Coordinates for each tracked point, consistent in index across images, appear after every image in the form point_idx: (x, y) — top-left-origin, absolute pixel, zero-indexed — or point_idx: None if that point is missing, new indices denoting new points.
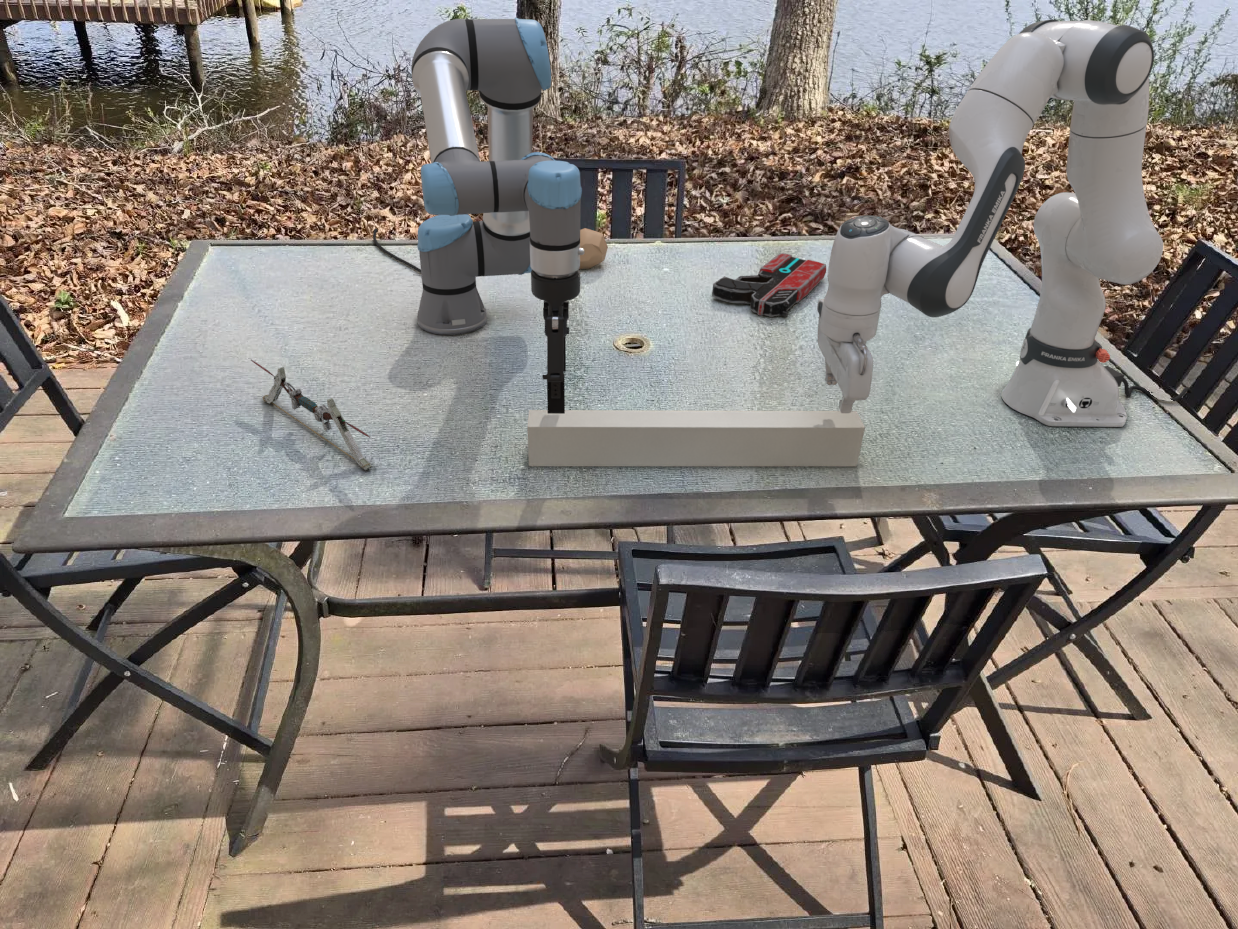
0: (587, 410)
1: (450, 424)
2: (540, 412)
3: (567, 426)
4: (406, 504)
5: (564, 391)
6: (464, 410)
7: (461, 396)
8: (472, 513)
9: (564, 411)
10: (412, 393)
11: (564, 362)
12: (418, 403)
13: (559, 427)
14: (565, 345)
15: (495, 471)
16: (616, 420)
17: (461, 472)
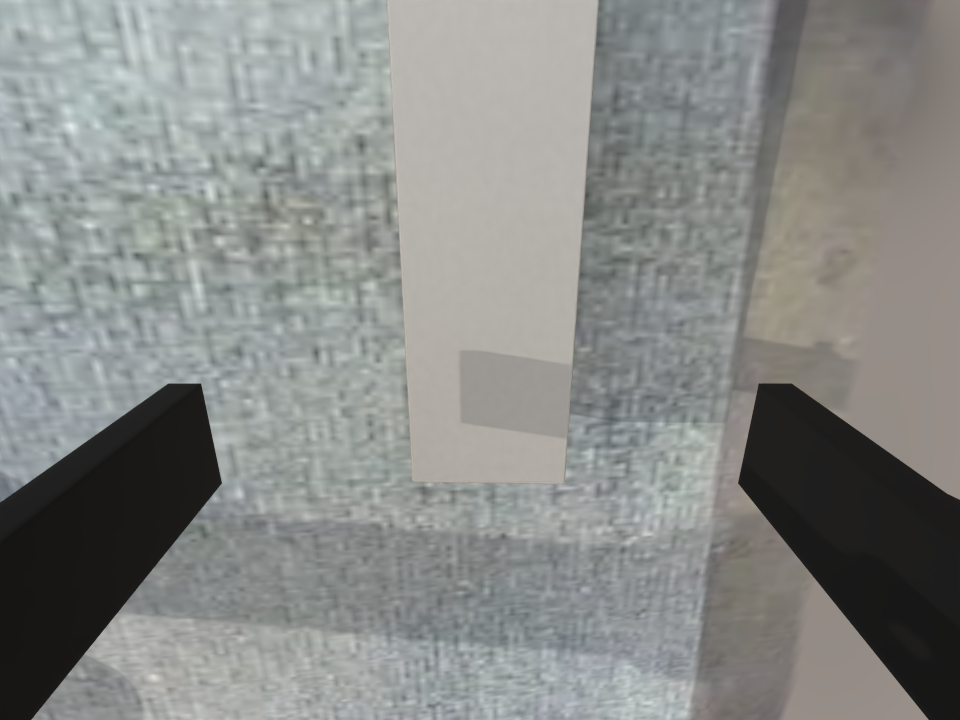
0: (403, 198)
1: (309, 611)
2: (434, 434)
3: (572, 308)
4: (700, 665)
5: (934, 486)
6: (222, 584)
7: (139, 597)
8: (773, 529)
9: (800, 391)
10: (156, 704)
11: (157, 428)
12: (207, 687)
13: (573, 346)
14: (21, 528)
15: (566, 485)
16: (518, 6)
17: (565, 567)
